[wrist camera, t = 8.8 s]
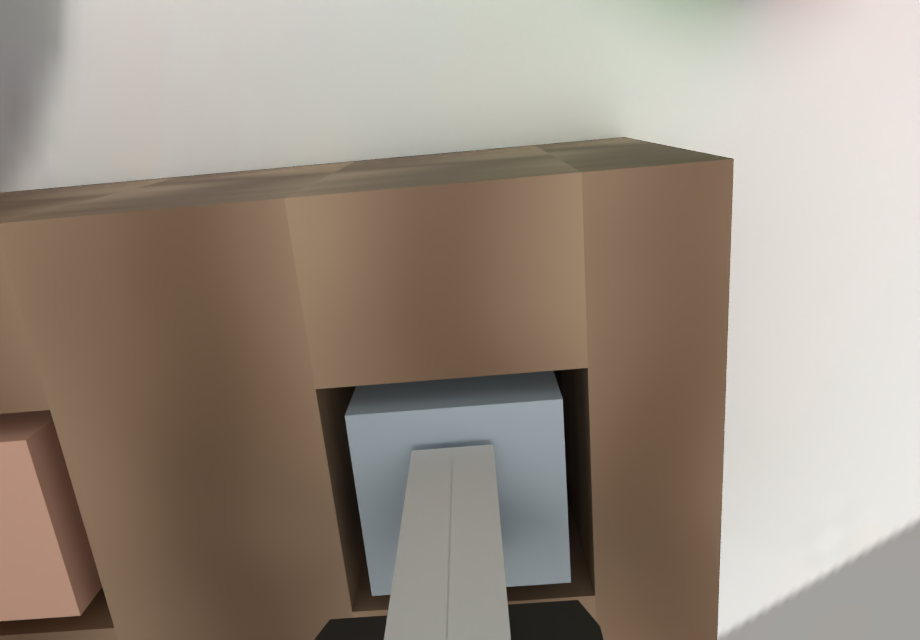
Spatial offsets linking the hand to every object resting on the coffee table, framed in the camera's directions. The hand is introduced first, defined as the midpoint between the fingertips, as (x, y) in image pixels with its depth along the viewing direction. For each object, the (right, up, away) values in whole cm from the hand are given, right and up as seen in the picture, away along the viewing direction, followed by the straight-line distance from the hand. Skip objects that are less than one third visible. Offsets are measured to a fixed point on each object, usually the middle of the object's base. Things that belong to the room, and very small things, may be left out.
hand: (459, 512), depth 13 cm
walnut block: (-5, +2, +8) cm, 10 cm away
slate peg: (0, +2, +7) cm, 8 cm away
